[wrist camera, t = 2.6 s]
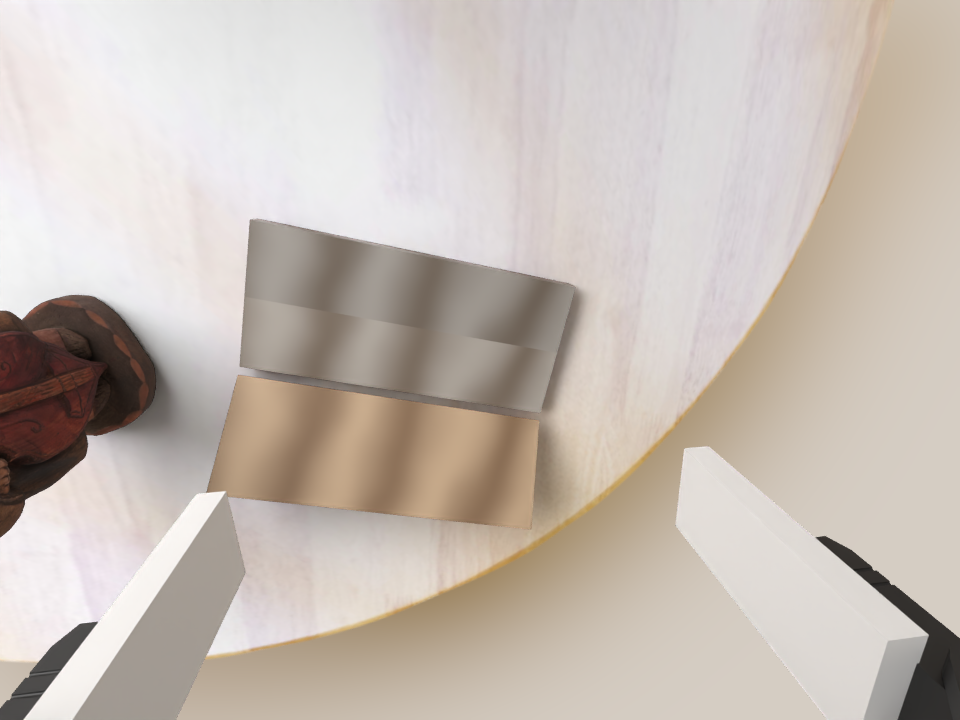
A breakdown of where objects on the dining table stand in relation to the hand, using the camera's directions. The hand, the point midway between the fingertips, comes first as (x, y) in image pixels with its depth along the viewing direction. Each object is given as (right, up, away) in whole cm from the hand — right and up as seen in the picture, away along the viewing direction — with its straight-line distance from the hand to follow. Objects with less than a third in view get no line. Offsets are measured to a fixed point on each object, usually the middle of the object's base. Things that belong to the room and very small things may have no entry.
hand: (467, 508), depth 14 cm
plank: (-7, -3, +21) cm, 23 cm away
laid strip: (-5, +7, +21) cm, 23 cm away
